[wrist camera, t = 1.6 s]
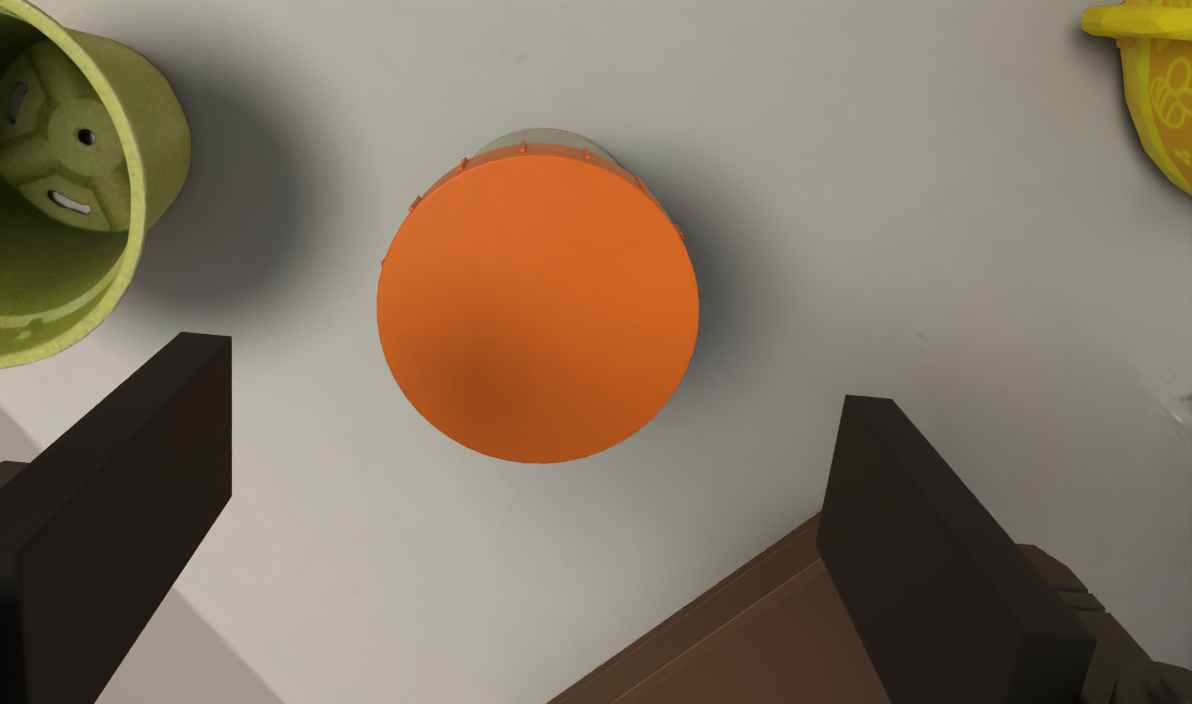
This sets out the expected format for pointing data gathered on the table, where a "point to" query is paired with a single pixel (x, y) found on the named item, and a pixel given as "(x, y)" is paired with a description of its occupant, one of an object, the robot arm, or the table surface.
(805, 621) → the tray
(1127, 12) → the mug
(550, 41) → the table surface
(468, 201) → the lid
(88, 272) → the plant pot
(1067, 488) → the table surface
